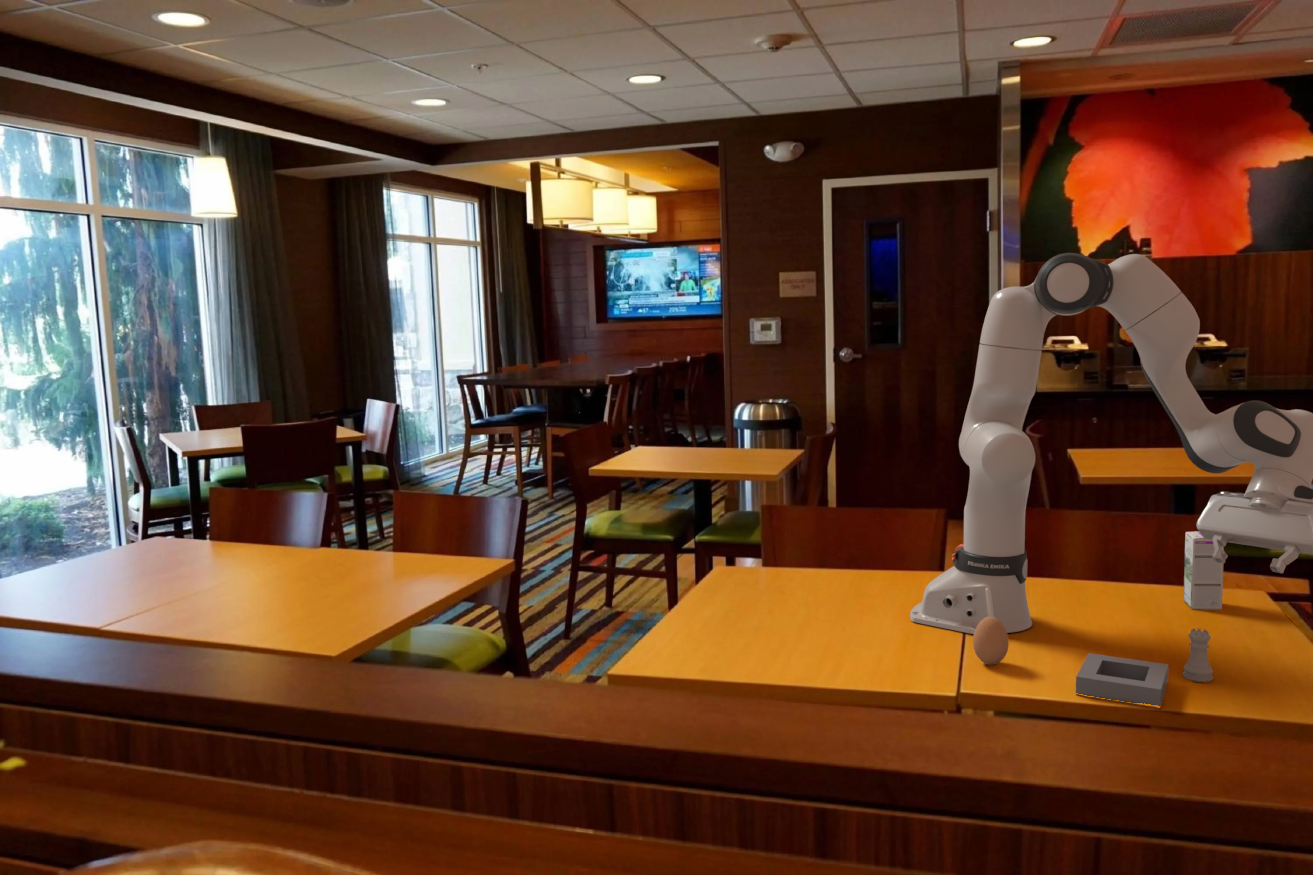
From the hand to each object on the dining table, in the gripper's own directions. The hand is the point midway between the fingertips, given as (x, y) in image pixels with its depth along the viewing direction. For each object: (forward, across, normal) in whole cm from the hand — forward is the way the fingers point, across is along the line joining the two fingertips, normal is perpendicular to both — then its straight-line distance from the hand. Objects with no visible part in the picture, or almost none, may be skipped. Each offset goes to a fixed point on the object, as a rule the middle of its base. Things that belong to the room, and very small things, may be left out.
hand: (1246, 565), depth 173 cm
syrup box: (-4, -21, +29) cm, 36 cm away
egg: (+34, -25, -15) cm, 45 cm away
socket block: (+30, -6, -9) cm, 32 cm away
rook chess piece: (+21, -1, +1) cm, 21 cm away
